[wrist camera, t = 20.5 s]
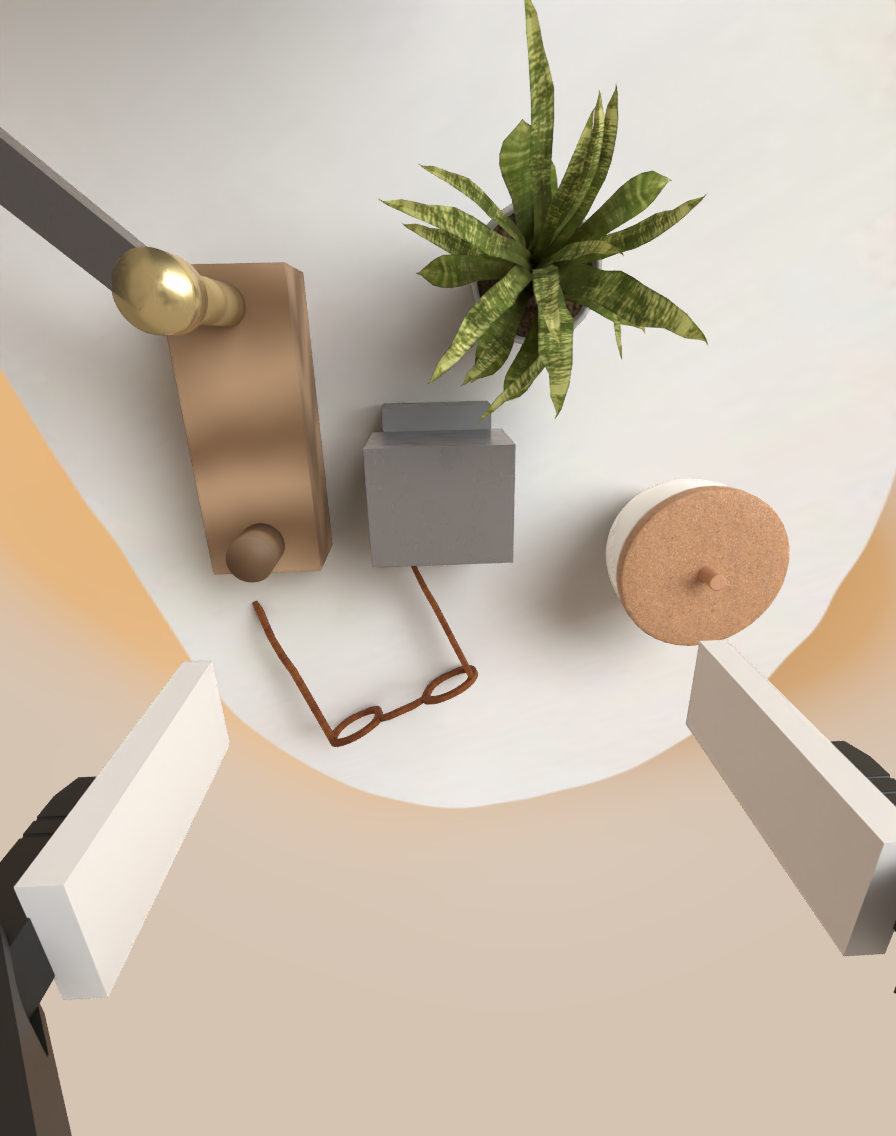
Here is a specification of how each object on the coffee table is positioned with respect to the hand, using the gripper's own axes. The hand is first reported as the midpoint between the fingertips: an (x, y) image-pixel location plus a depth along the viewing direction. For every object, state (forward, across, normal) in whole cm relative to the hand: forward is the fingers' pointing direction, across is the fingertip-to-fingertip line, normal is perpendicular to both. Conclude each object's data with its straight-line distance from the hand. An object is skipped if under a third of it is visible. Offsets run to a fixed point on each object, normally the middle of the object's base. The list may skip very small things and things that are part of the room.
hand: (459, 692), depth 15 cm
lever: (+14, -16, +15) cm, 26 cm away
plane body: (+27, -12, +4) cm, 29 cm away
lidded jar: (+27, +16, -5) cm, 32 cm away
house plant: (+27, +4, +13) cm, 30 cm away
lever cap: (+24, 0, 0) cm, 24 cm away
